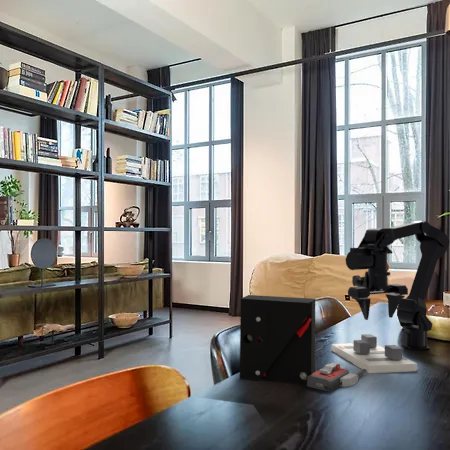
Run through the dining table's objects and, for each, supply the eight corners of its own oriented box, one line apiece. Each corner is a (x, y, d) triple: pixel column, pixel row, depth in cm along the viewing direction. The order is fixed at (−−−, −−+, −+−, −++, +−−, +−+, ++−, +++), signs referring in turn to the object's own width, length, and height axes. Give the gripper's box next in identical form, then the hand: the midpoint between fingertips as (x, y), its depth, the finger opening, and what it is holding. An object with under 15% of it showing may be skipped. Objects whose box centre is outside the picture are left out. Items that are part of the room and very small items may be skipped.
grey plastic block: (370, 343, 143) (370, 334, 143) (376, 346, 139) (376, 337, 139) (361, 344, 142) (361, 334, 142) (367, 347, 138) (367, 337, 138)
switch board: (372, 348, 146) (372, 342, 146) (417, 371, 123) (417, 363, 123) (331, 350, 144) (331, 343, 144) (368, 373, 120) (368, 365, 120)
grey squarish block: (394, 355, 129) (394, 344, 129) (402, 359, 125) (402, 348, 125) (384, 355, 129) (384, 345, 129) (392, 359, 125) (392, 348, 125)
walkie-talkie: (337, 397, 103) (369, 376, 119) (337, 377, 103) (369, 359, 119) (302, 388, 109) (337, 369, 124) (302, 370, 109) (337, 353, 125)
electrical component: (316, 375, 117) (316, 297, 118) (310, 388, 108) (310, 303, 108) (250, 368, 123) (251, 294, 124) (238, 379, 114) (239, 298, 114)
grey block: (362, 350, 135) (363, 339, 135) (369, 353, 131) (369, 343, 131) (353, 350, 134) (353, 340, 134) (359, 353, 130) (359, 343, 130)
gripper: (384, 265, 153) (385, 312, 153) (337, 267, 147) (338, 316, 147) (408, 268, 143) (409, 318, 143) (358, 270, 137) (359, 323, 136)
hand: (378, 318), depth 143 cm, fingers open, 9 cm apart
